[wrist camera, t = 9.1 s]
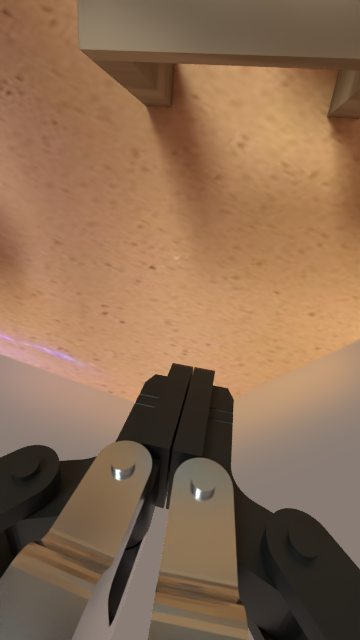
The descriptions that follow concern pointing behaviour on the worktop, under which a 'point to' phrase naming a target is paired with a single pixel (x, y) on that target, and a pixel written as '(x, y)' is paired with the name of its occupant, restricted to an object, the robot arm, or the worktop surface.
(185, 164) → the worktop surface
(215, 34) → the bridge
